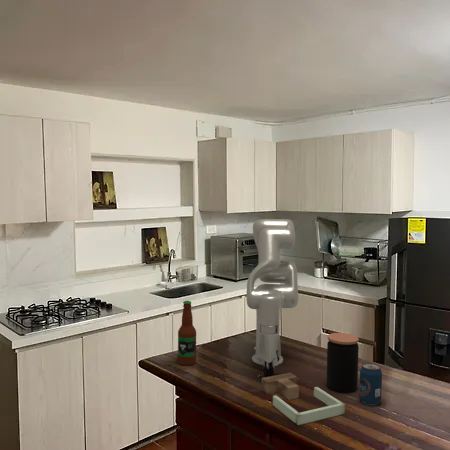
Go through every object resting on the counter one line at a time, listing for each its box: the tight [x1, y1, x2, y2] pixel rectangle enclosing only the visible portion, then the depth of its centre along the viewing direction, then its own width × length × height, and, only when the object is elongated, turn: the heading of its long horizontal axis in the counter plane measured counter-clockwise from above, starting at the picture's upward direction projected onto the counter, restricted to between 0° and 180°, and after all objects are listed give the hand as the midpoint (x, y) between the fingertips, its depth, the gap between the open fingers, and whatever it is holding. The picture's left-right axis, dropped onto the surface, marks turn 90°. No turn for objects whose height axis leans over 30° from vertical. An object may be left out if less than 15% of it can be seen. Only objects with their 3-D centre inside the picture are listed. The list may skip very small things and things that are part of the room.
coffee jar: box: [326, 332, 359, 394], centre depth 161 cm, size 11×11×18 cm
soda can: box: [358, 362, 383, 406], centre depth 149 cm, size 7×7×12 cm
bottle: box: [177, 300, 197, 367], centre depth 182 cm, size 7×7×25 cm
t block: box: [261, 372, 300, 401], centre depth 156 cm, size 11×12×4 cm
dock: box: [272, 386, 346, 426], centre depth 144 cm, size 14×17×3 cm
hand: (268, 377), depth 166 cm, fingers closed
